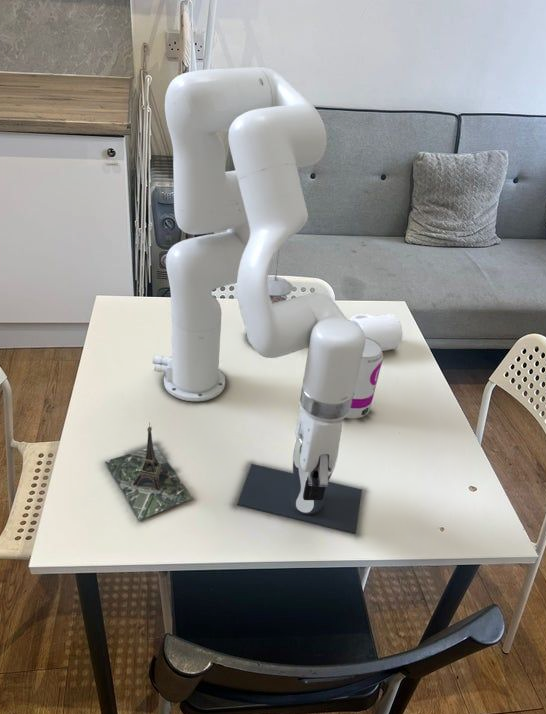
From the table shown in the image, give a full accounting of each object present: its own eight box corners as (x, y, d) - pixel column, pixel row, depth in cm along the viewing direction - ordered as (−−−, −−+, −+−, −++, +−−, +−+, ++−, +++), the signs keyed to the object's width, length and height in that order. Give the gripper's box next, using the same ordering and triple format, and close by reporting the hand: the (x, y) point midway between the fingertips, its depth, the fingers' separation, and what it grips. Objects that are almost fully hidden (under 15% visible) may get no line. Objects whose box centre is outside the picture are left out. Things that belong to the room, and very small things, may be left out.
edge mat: (237, 505, 106) (237, 503, 106) (251, 465, 114) (251, 463, 114) (355, 534, 104) (355, 532, 103) (361, 490, 111) (362, 489, 111)
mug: (397, 355, 146) (406, 325, 141) (359, 361, 143) (366, 331, 138) (373, 327, 154) (379, 298, 149) (336, 332, 151) (341, 303, 146)
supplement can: (374, 402, 131) (389, 342, 122) (362, 425, 125) (377, 363, 116) (337, 390, 134) (349, 329, 124) (323, 412, 128) (335, 350, 118)
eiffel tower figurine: (102, 463, 111) (97, 404, 103) (155, 445, 116) (154, 387, 108) (139, 522, 102) (136, 462, 94) (194, 499, 107) (197, 441, 98)
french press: (276, 356, 142) (289, 252, 126) (232, 338, 146) (239, 235, 130) (297, 337, 148) (312, 236, 133) (255, 320, 153) (264, 221, 137)
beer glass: (283, 486, 110) (293, 420, 101) (322, 485, 111) (337, 421, 101) (288, 517, 105) (300, 451, 95) (329, 516, 105) (345, 451, 96)
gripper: (293, 363, 100) (281, 446, 111) (309, 437, 87) (293, 523, 98) (340, 364, 101) (323, 447, 112) (363, 438, 87) (341, 523, 99)
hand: (309, 482), depth 105 cm, fingers closed on beer glass, 6 cm apart
